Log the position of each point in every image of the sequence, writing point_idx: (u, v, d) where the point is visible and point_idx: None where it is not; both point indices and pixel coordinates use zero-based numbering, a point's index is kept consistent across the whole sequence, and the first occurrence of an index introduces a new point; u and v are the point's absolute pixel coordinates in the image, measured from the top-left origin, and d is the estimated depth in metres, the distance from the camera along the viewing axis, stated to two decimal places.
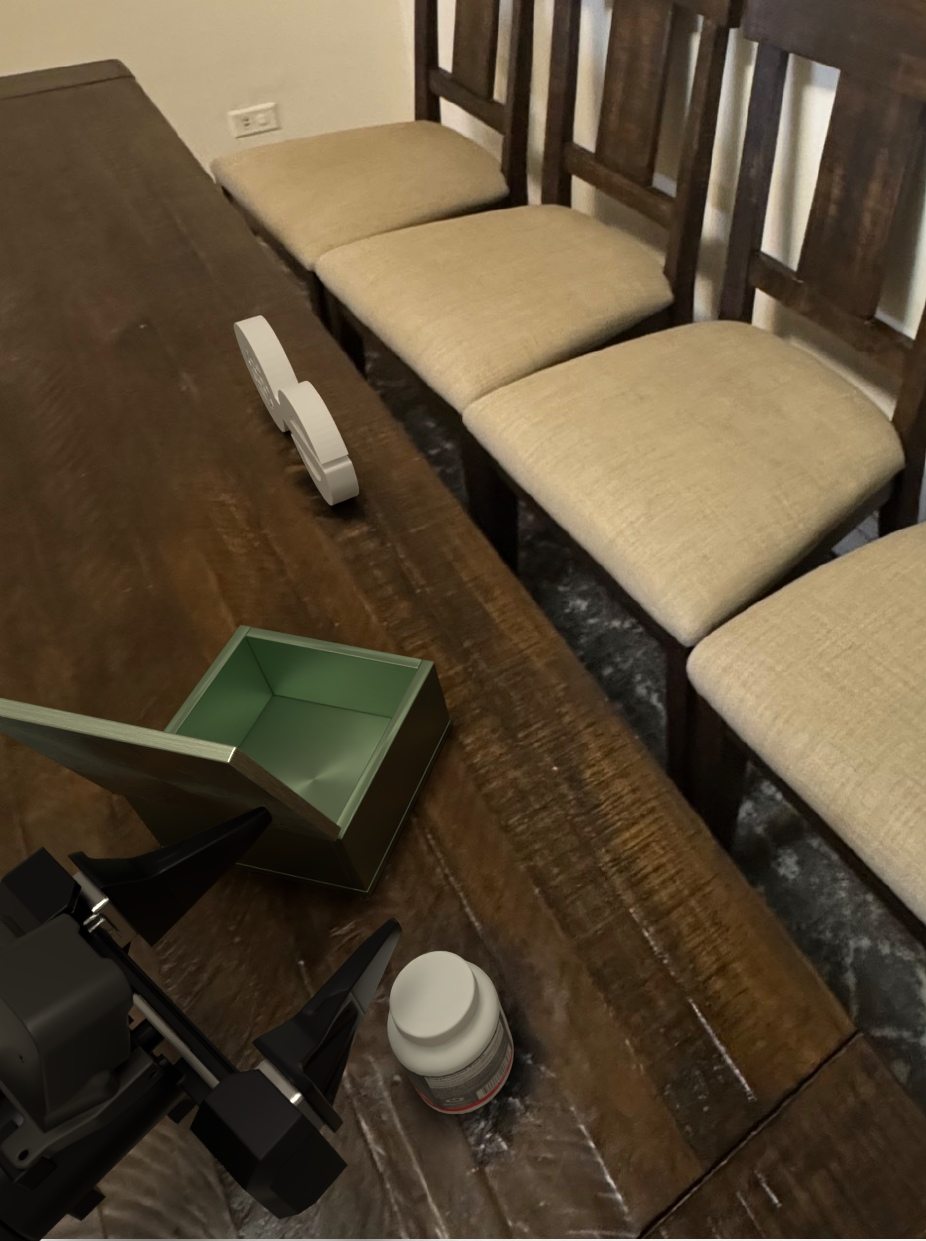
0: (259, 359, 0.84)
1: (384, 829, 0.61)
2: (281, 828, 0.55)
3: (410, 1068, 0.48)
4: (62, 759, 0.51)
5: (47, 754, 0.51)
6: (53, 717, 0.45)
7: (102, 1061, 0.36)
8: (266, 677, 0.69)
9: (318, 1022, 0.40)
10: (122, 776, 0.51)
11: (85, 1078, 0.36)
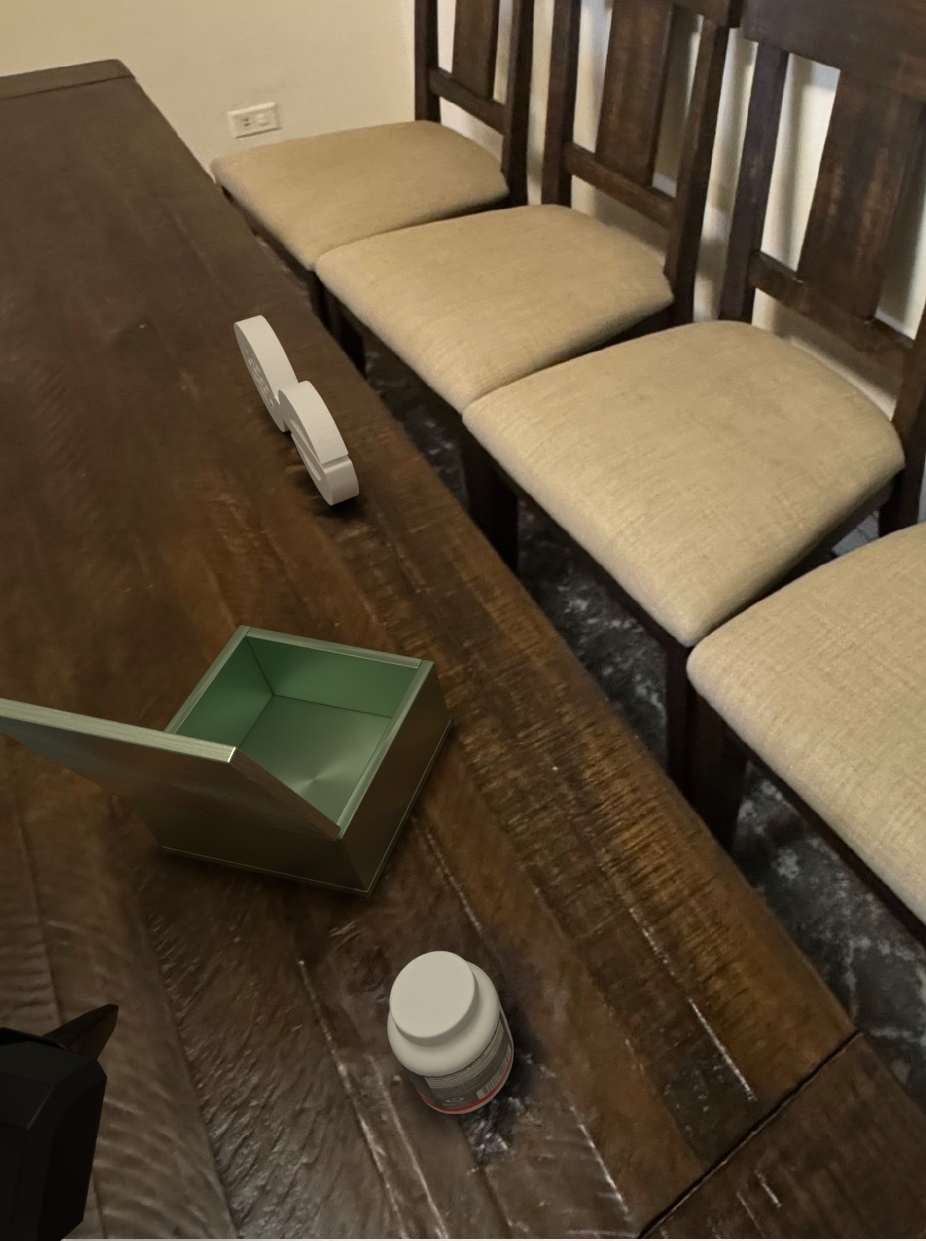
0: (259, 359, 0.84)
1: (384, 829, 0.61)
2: (281, 828, 0.55)
3: (410, 1068, 0.48)
4: (62, 759, 0.51)
5: (47, 754, 0.51)
6: (53, 717, 0.45)
7: None
8: (266, 677, 0.69)
9: None
10: (122, 776, 0.51)
11: None
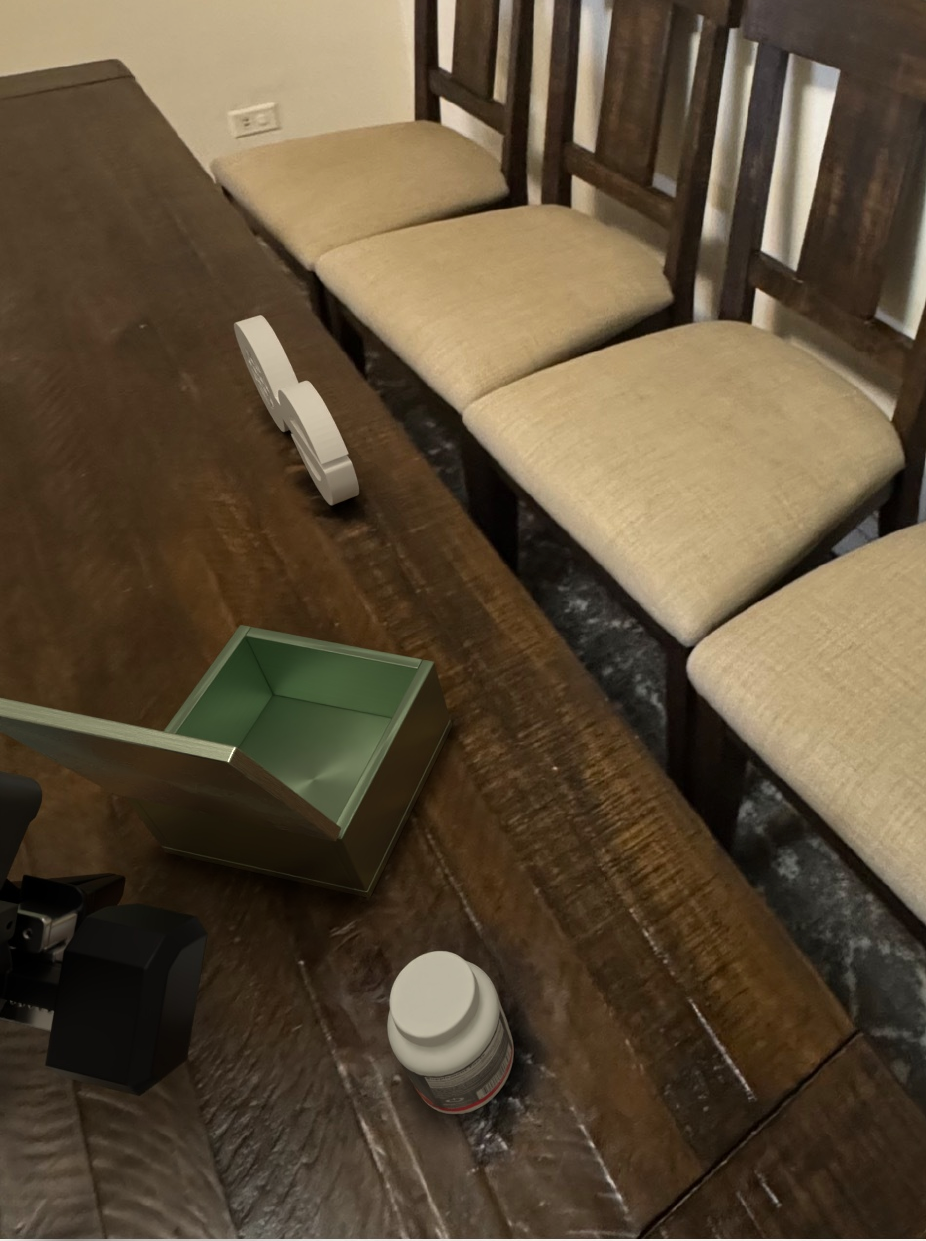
0: (259, 359, 0.84)
1: (384, 829, 0.61)
2: (281, 828, 0.55)
3: (410, 1068, 0.48)
4: (62, 759, 0.51)
5: (47, 754, 0.51)
6: (53, 717, 0.45)
7: None
8: (266, 677, 0.69)
9: None
10: (122, 776, 0.51)
11: None
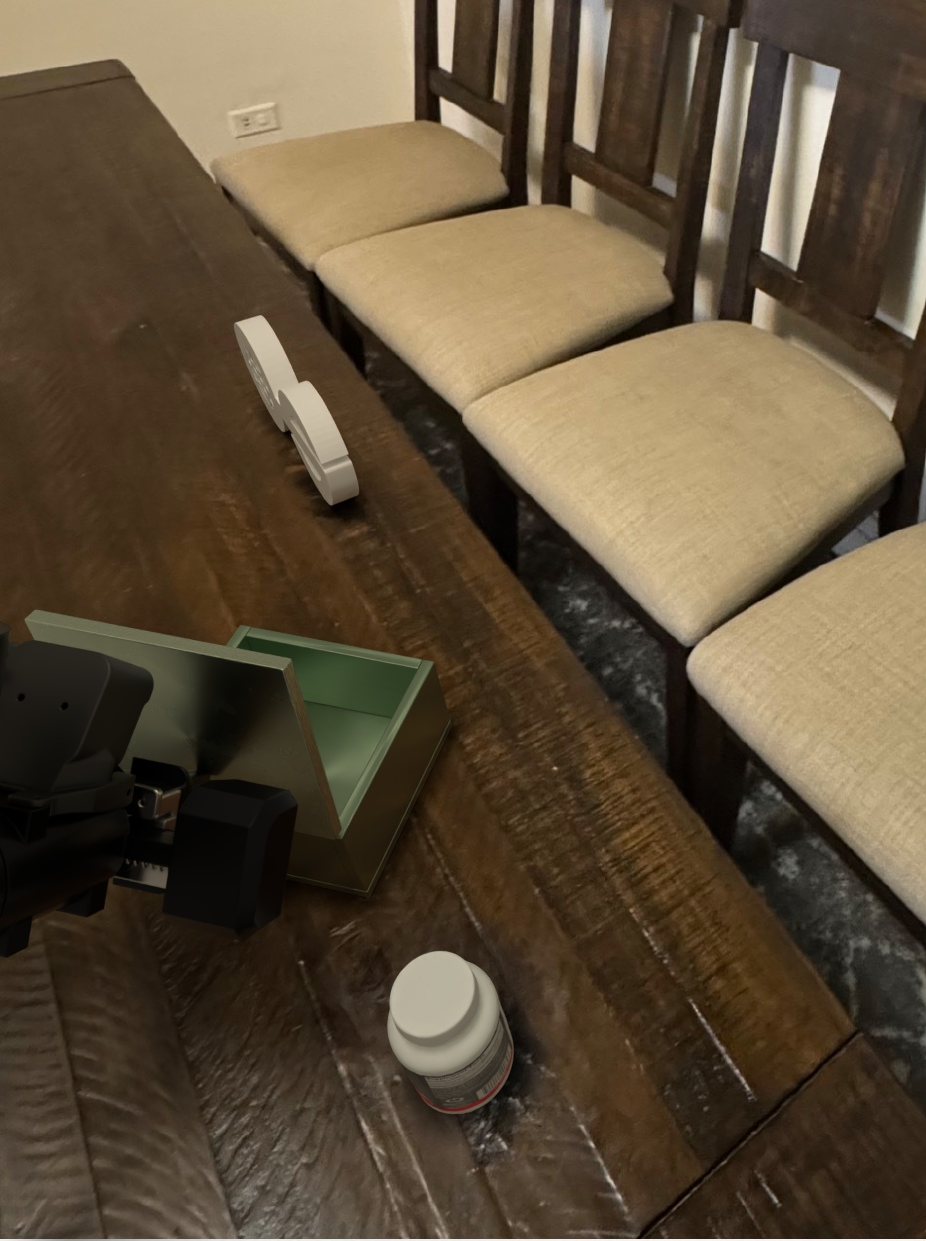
0: (259, 359, 0.84)
1: (384, 829, 0.61)
2: None
3: (410, 1068, 0.48)
4: None
5: None
6: (118, 631, 0.48)
7: (116, 738, 0.43)
8: None
9: None
10: (144, 741, 0.53)
11: (104, 744, 0.42)
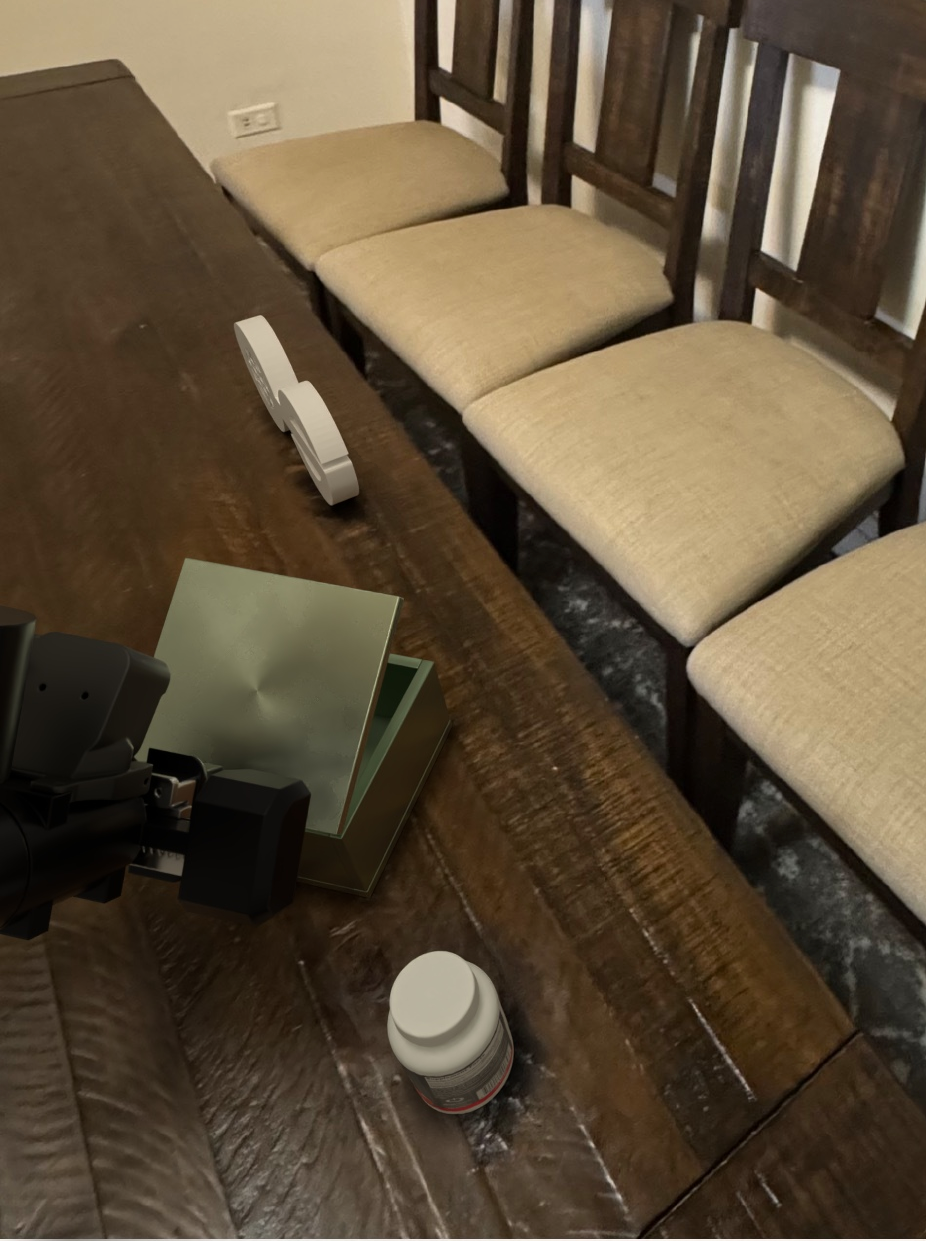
0: (259, 358, 0.84)
1: (384, 829, 0.61)
2: None
3: (410, 1068, 0.48)
4: None
5: None
6: None
7: (134, 728, 0.44)
8: None
9: None
10: (204, 701, 0.57)
11: (122, 733, 0.43)
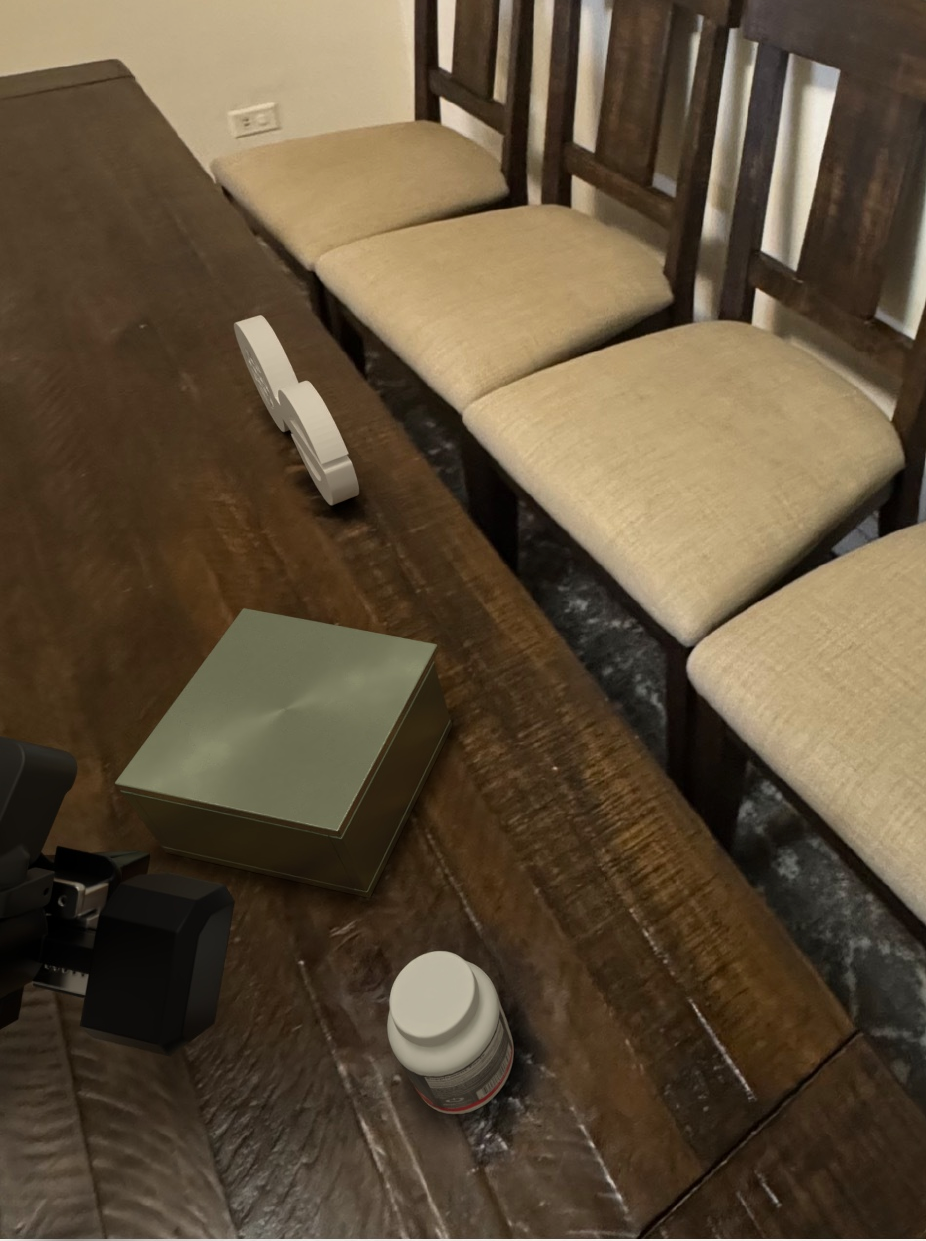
0: (259, 359, 0.84)
1: (384, 829, 0.61)
2: (291, 811, 0.56)
3: (410, 1068, 0.48)
4: (200, 692, 0.61)
5: (196, 684, 0.61)
6: None
7: (31, 833, 0.39)
8: None
9: None
10: (231, 715, 0.60)
11: (17, 840, 0.38)
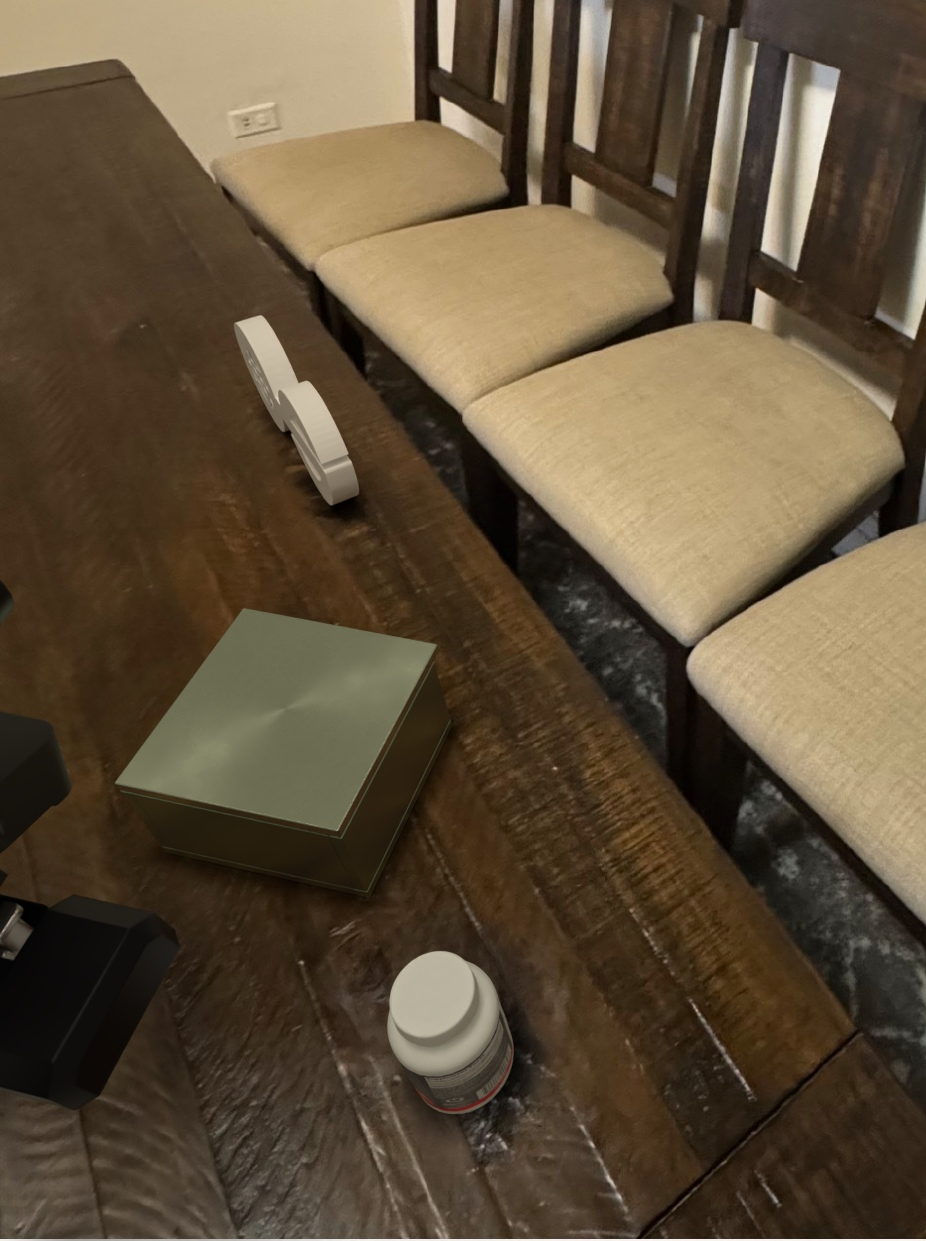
0: (259, 359, 0.84)
1: (384, 829, 0.61)
2: (291, 811, 0.56)
3: (410, 1068, 0.48)
4: (200, 692, 0.61)
5: (196, 684, 0.61)
6: None
7: (13, 818, 0.38)
8: None
9: None
10: (231, 715, 0.60)
11: (2, 812, 0.37)
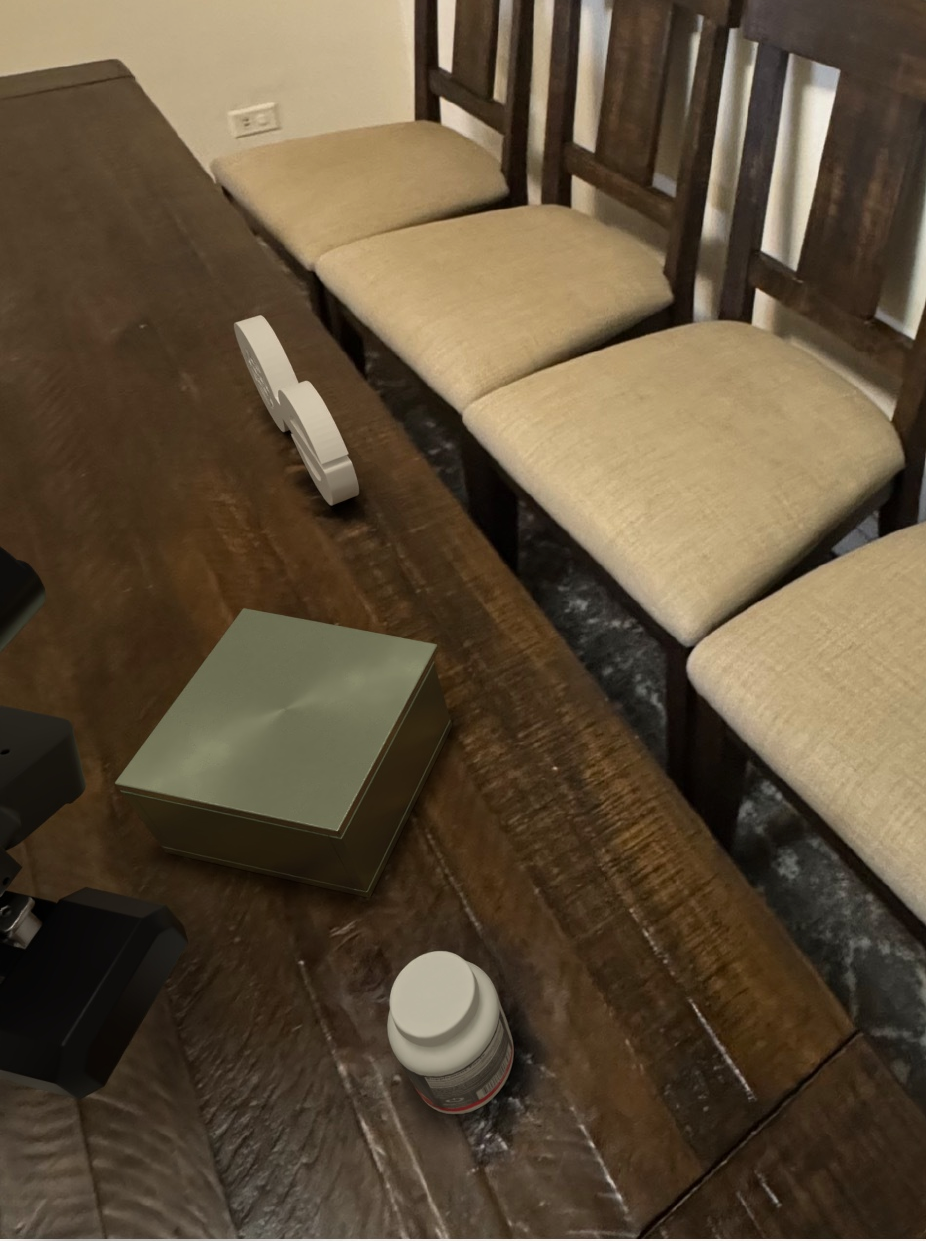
0: (259, 359, 0.84)
1: (384, 829, 0.61)
2: (291, 811, 0.56)
3: (410, 1068, 0.48)
4: (200, 692, 0.61)
5: (196, 684, 0.61)
6: None
7: (30, 811, 0.39)
8: None
9: None
10: (231, 715, 0.60)
11: (20, 804, 0.38)
